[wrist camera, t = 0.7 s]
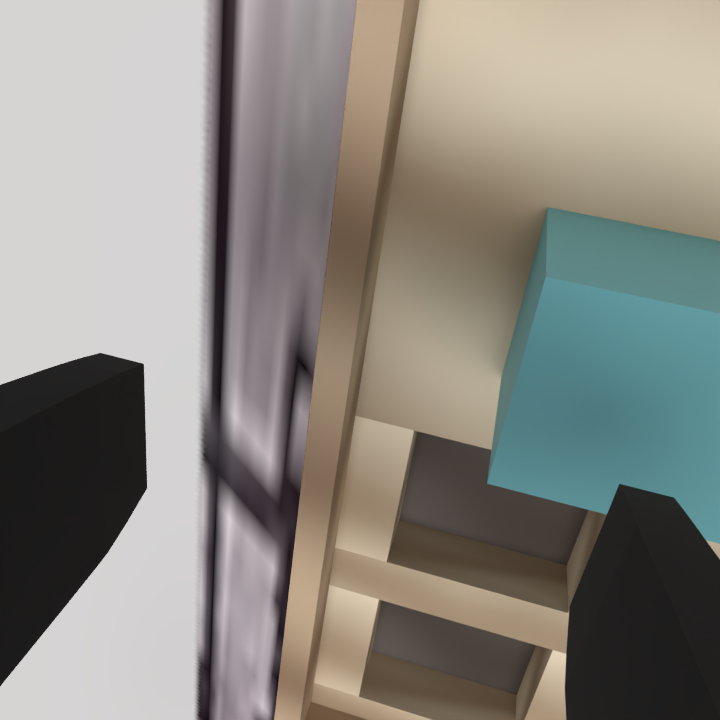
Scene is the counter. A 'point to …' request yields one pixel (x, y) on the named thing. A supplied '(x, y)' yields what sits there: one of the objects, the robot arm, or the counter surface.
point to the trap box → (469, 335)
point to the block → (614, 369)
